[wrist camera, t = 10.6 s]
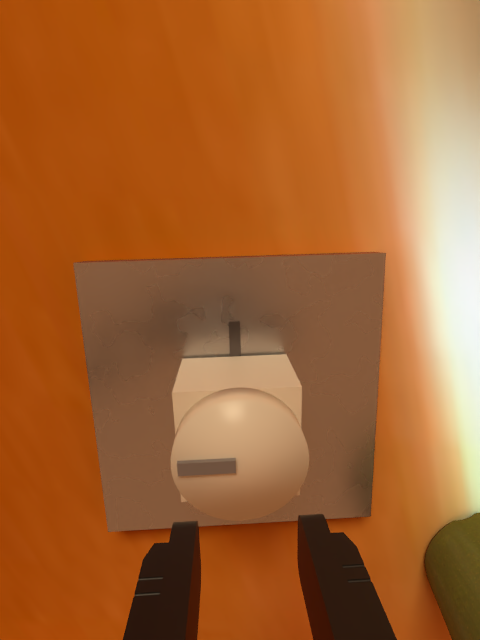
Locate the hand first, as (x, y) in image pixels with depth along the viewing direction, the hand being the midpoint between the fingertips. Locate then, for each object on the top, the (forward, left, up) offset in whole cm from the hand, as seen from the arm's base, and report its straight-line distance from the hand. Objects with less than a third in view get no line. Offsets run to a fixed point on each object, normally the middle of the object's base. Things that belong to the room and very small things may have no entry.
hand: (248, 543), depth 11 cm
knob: (0, 0, -10) cm, 10 cm away
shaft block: (0, 0, -11) cm, 11 cm away
